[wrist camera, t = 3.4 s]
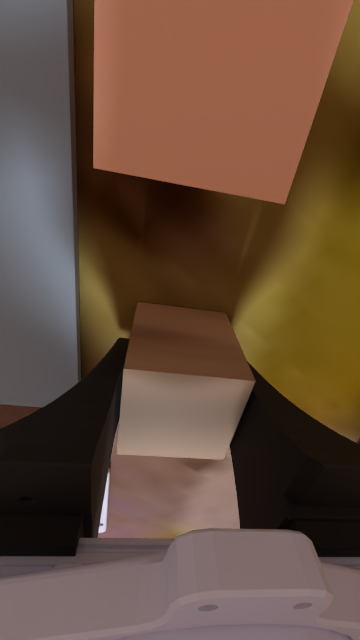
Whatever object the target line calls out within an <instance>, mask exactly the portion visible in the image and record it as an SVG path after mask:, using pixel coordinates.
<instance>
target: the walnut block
mask: <svg viewBox="0 0 360 640" xmlns="http://www.w3.org/2000/svg"><path fill="white" fill-rule="evenodd" d="M254 384H255V379H254V376H253V374H252V372H251V369H250V367H249V365H248V363H247V360H246V358H245V356H244V353H243V351H242V349H241V347H240V344H239V342H238V340H237V337H236V335H235V333H234V330H233V328H232V326H231V324H230V321H229V319H228V317H227V314H226V313H223V312H215V311H207V310H199V309H192V308H184V307H176V306H168V305H160V304H152V303H145V302H137V306H136V311H135V316H134V321H133V325H132V330H131V335H130V340H129V345H128V350H127V355H126V359H125V364H124V370H123V382H122V394H121V407H120V419H119V431H118V444H117V454H125V455H144V456H163V457H182V458H202V459H221V460H223V459H224V457H225V454H226V452H227V450H228V447H229V445H230V442H231V440H232V437H233V435H234V433H235V430H236V428H237V425H238V423H239V420H240V418H241V416H242V413H243V411H244V408H245V406H246V403H247V401H248V399H249V396H250V394H251V391H252V389H253V386H254Z"/></svg>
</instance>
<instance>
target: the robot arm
mask: <svg viewBox="0 0 360 640" xmlns="http://www.w3.org/2000/svg"><path fill="white" fill-rule="evenodd" d="M129 340H130V339H127V338H119V339H117V341H116V343H115V344H114V345H113V347H112V348H111V349H110V351H109V352H108V353H107V354H106V355H105V357H104V358H103V359H102V360H101V361H100V362H99V363H98V364H97V365H96V366H95V367H94V368H93V369H92V370H91V371H90V372H89V373H88V374H87V375H86V376H85V377H84V378H83V379H82V380H81V381H79V382H78V383H77V384H76V385H74V386H73V387H72V388H71V389H69V390H68V391H67V392H65V393H64V394H62V395H61V396H60V397H58V398H57V399H55V400H54V401H52V402H51V403H49V404H47V405H46V406H44V407H42V408H41V409H39V410H37V411H36V412H34V413H32V414H30V415H28V416H26V417H24V418H22V419H20V420H18V421H16V422H14V423H12V424H10V425H8V426H6V427H4V428H2V429H0V640H360V445H359V444H357V443H355V442H353V441H351V440H349V439H347V438H345V437H344V436H342V435H340V434H338V433H337V432H335V431H333V430H331V429H330V428H328V427H326V426H325V425H323V424H322V423H320V422H318V421H317V420H315V419H314V418H312V417H311V416H309V415H308V414H306V413H305V412H304V411H302V410H301V409H299V408H298V407H297V406H295V405H294V404H293V403H292V402H290V401H289V400H288V399H286V398H285V397H284V396H283V395H282V394H280V393H279V392H278V391H277V390H276V389H275V388H274V387H273V386H272V385H270V384H269V383H268V382H267V381H266V380H265V379H264V378H263V377H262V376H261V375H260V374H259V373H258V372H257V371H256V370H255V369H254V368H253V367H252V366H251V365H250V364H249V363H248V361H247V363H248V365H249V367H250V369H251V372H252V374H253V376H254V379H255V384H254V386H253V389H252V391H251V394H250V396H249V399H248V401H247V403H246V406H245V408H244V411H243V413H242V416H241V418H240V420H239V423H238V425H237V428H236V430H235V433H234V435H233V437H232V440H231V442H230V450H231V456H232V463H233V469H234V476H235V484H236V491H237V500H238V509H239V518H240V529H219V528H209V529H200V530H192V531H190V532H187V533H185V534H182V535H180V536H178V537H177V538H176V539H147V538H97V537H98V533H101V532H104V531H106V527H107V514H108V498H109V483H110V468H109V464H110V459H111V453H112V447H113V441H114V437H115V432H116V429H117V425H118V421H119V418H120V407H121V394H122V382H123V370H124V364H125V359H126V355H127V350H128V345H129Z"/></svg>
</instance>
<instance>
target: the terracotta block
mask: <svg viewBox="0 0 360 640" xmlns="http://www.w3.org/2000/svg"><path fill="white" fill-rule="evenodd" d="M353 1H354V0H94V131H93V168H96V169H101V170H106V171H112V172H117V173H122V174H127V175H133V176H138V177H143V178H148V179H154V180H159V181H164V182H170V183H175V184H180V185H185V186H191V187H196V188H201V189H206V190H212V191H217V192H222V193H227V194H233V195H238V196H243V197H248V198H254V199H259V200H264V201H269V202H275V203H280V204H285V203H286V200H287V197H288V194H289V191H290V188H291V185H292V182H293V179H294V176H295V173H296V170H297V167H298V164H299V161H300V158H301V155H302V152H303V149H304V146H305V143H306V140H307V137H308V134H309V131H310V128H311V125H312V122H313V119H314V116H315V113H316V110H317V108H318V105H319V102H320V99H321V96H322V93H323V90H324V87H325V84H326V81H327V78H328V75H329V72H330V69H331V66H332V63H333V60H334V57H335V54H336V51H337V48H338V45H339V42H340V39H341V36H342V33H343V30H344V27H345V24H346V21H347V18H348V15H349V12H350V9H351V6H352V3H353Z"/></svg>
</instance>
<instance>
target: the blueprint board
mask: <svg viewBox="0 0 360 640" xmlns="http://www.w3.org/2000/svg"><path fill="white" fill-rule="evenodd" d="M79 381H81V348H80V302H79V256H78V210H77V165H76V119H75V73H74V27H73V0H0V404H1V405H15V406H29V407H44V406H46V405H47V404H49V403H51V402H52V401H54V400H55V399H57V398H58V397H60V396H61V395H62V394H64V393H65V392H67V391H68V390H69V389H71V388H72V387H73V386H74V385H76V384H77V383H78V382H79Z"/></svg>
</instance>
